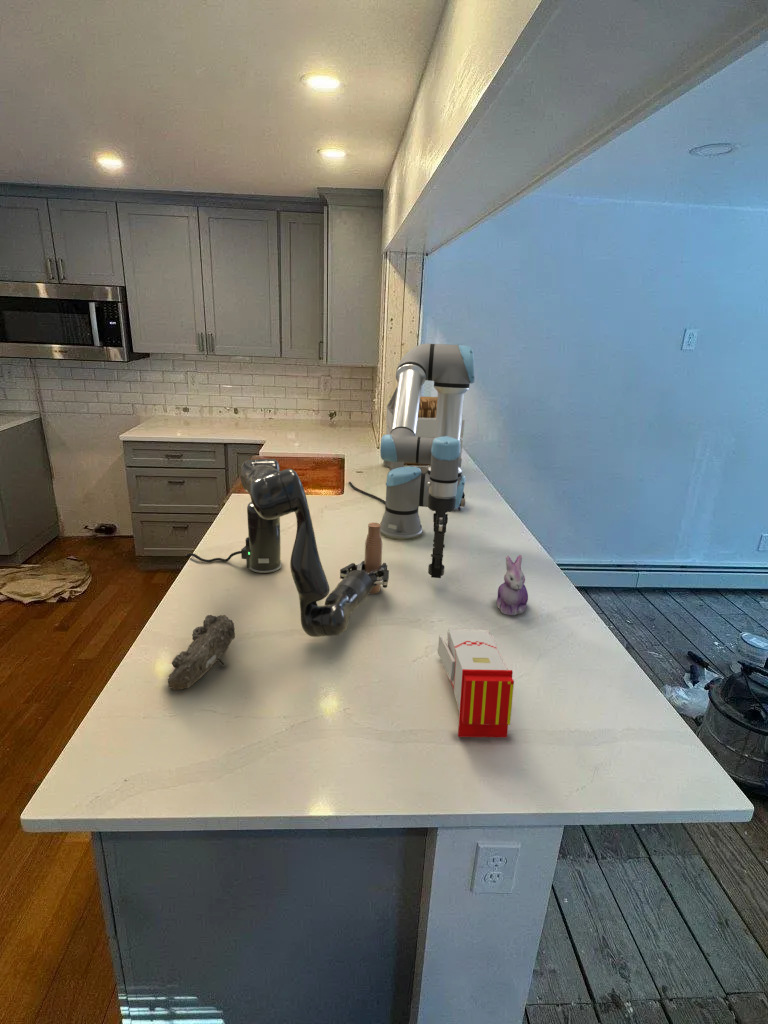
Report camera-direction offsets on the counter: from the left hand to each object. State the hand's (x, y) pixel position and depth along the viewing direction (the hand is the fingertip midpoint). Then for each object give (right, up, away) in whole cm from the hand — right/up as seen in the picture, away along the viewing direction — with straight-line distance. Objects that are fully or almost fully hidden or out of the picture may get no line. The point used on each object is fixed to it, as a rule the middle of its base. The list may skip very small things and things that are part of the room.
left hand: (376, 564), depth 160 cm
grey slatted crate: (+19, +34, +115) cm, 122 cm away
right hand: (+17, -3, +2) cm, 17 cm away
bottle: (-1, -7, 0) cm, 7 cm away
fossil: (-36, -18, -36) cm, 54 cm away
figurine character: (+31, +17, +70) cm, 79 cm away
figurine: (+37, -11, -7) cm, 39 cm away
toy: (+20, -23, -41) cm, 51 cm away
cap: (+17, -1, +1) cm, 17 cm away
